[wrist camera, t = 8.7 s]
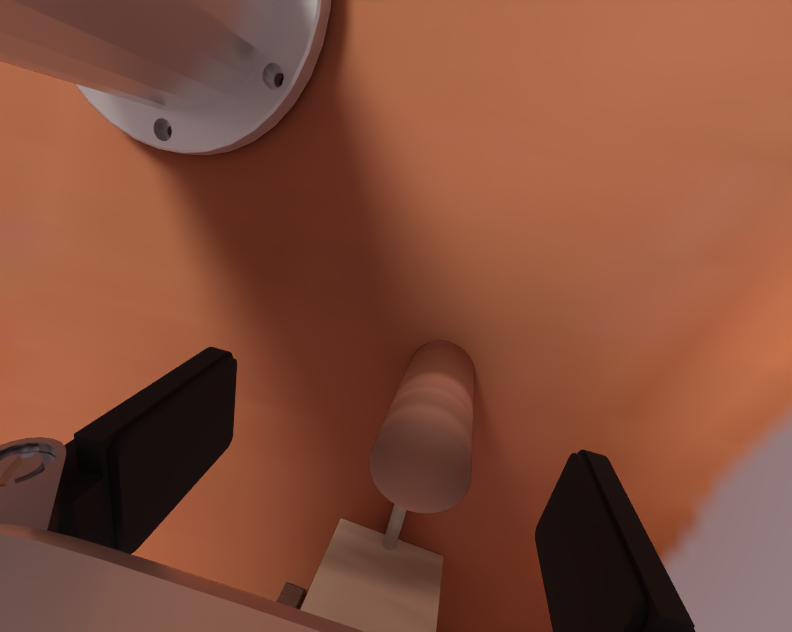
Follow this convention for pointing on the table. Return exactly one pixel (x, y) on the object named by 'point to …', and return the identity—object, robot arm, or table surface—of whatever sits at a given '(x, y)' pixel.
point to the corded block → (404, 501)
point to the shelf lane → (291, 596)
